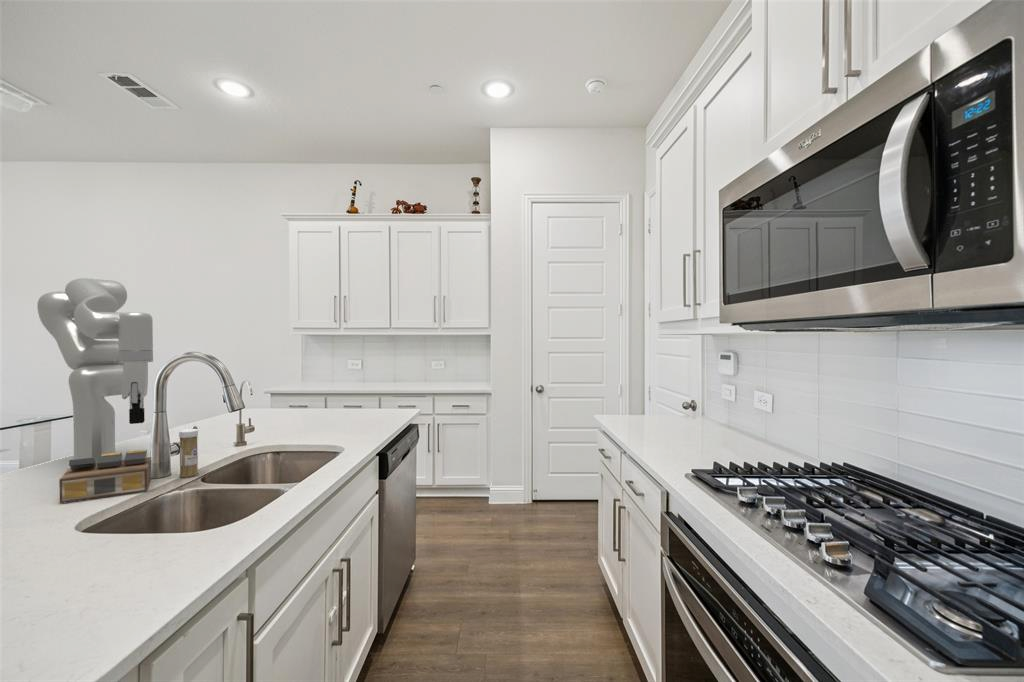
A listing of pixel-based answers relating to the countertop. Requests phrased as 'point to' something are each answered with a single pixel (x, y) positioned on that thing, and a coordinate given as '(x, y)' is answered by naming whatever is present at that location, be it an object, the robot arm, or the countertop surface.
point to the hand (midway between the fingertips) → (137, 422)
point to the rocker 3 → (135, 457)
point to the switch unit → (104, 481)
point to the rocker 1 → (82, 463)
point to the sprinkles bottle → (188, 452)
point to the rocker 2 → (109, 460)
